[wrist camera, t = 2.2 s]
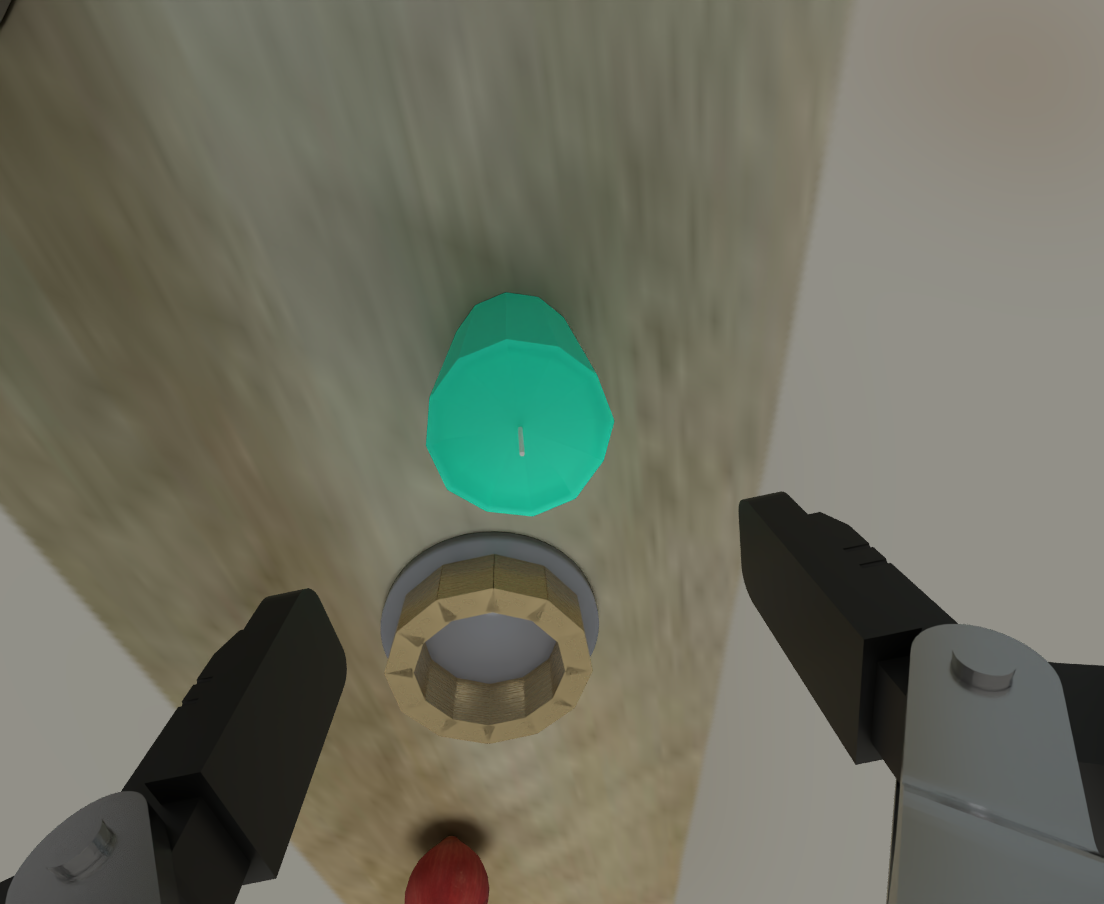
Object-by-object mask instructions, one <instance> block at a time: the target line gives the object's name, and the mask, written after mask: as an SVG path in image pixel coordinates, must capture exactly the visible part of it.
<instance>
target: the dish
mask: <svg viewBox="0 0 1104 904" xmlns="http://www.w3.org/2000/svg"><path fill="white" fill-rule="evenodd" d="M491 554H494V555H495V554H497V555H501V556H506V557H510V558H514V559H518V560H522V561H527V562H531V563H535V564H539V565H544V566H545V567H546V568H547V569H549V570H550V571H551V572H552V573H553V574H554V575H555V576H556V577H557V578H559V579H560V580H561V581H562V582H563V583H564V584H565V585H566V586H567V587H569V588H570V589H571V590H572V591H573V592H574V593H575V594H576V595H577V597H578V601H579V606H580V611H581V615H582V620H583V624H584V629H585V634H586V639H587V644H588V649H589V654H590V656H591V654H592V652H593V650H594V647H595V645H596V641H597V636H598V629H599V618H598V610H597V606H596V602H595V598H594V595H593V591H592V588H591V586H590V584H589V582H588V580H587V578H586V577H585V575H584V574H583V572H582V571H581V569H580V568H579V567H578V566H577V565H576V564H575V563H574V562H573V561H572V560H571V559H570V558H568V557H567V556H566V555H565V554H563V553H562V552H561V551H559V550H557V549H556V548H554V547H552V546H551V545H549V544H546V543H544V542H542V541H540V540H537V539H534V538H531V537H527V536H524V535H519V534H513V533H504V532H479V533H473V534H466V535H462V536H458V537H455V538H451V539H448V540H446V541H443V542H441V543H438V544H436V545H434V546H433V547H431V548H429V549H427V550H425V551H424V552H422V553H421V554H420V555H418V556H417V557H416V558H414V559H413V560H412V561H411V562H410V563H409V564H408V565H407V566H406V567H405V568H404V569H403V570H402V571H401V573H400V574H399V575H398V577H397V578H396V580H395V581H394V583H393V585H392V587H391V588H390V591H389V594H388V597H387V599H386V603H385V606H384V609H383V613H382V619H381V638H382V644H383V647H384V650H385V653H386V656H387V658H388V657H389V654H390V650H391V646H392V642H393V638H394V635H395V631H396V627H397V624H398V621H399V617H400V614H401V610H402V607H403V603H404V600H405V597H406V594H407V593H409V592H410V591H411V590H412V589H414V588H415V587H416V586H417V585H418V584H420V583H421V582H422V581H423V580H425V579H426V578H427V577H428V576H429V575H431V574H432V573H433V572H434V571H436V570H437V569H438V568H439V567H441V566H442V565H444V564H448V563H453V562H458V561H463V560H467V559H472V558H477V557H482V556H487V555H491ZM425 643H426V646H427V649H428V651H429V654H430V656H431V659H432V660H433V661H434V662H436V663H437V664H438V665H440V666H441V667H443V668H444V669H445V670H447V671H448V672H450V673H451V674H452V675H454V676H455V677H457V678H460V679H466V680H471V681H477V682H482V683H488V684H492V683H497V682H502V681H507V680H512V679H516V678H521V677H524V676H525V675H527V674H528V673H530V672H531V671H532V670H534V669H535V668H537V667H538V666H539V665H541V664H542V663H544V662H545V661H546V660H548V659H549V657H550V655H551V653H552V650H553V648H554V646H555V643H556V641H555V640H554V639H553V638H552V637H551V636H549V635H548V634H547V633H546V632H545V631H543V630H542V629H541V628H540V627H539V626H537V625H536V624H535V623H534V622H533V621H530V620H526V619H521V618H516V617H512V616H507V615H502V614H497V613H493V612H492V613H488V614H483V615H478V616H473V617H468V618H464V619H459V620H454V621H451V622H450V623H449V624H448V625H446V626H445V627H444V628H442V629H441V630H440V631H439V632H437V633H436V634H435V635H433V636H432V637H431V638H430V639H428V640H427V641H426V642H425Z"/></svg>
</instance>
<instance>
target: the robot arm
mask: <svg viewBox="0 0 1104 904" xmlns="http://www.w3.org/2000/svg"><path fill="white" fill-rule="evenodd" d="M10 2H11V0H0V22H1V20H2V18H3V16H4V14H5V12H6V10H7V8H8V6H9V4H10ZM739 528H740V546H741V563H742V573H743V578H744V582H745V585H746V589H747V591H748V593H749V596H750V598H751V600H752V602H753V604H754V605H755V607H756V608H757V610H758V612H759V613H760V615H761V616H762V618H763V619H764V621H765V623H766V624H767V626H768V627H769V629H770V630H771V632H772V633H773V635H774V637H775V638H776V640H777V641H778V643H779V645H780V646H781V648H782V649H783V651H784V653H785V654H786V655H787V657H788V659H789V660H790V662H791V664H792V665H793V667H794V668H795V670H796V671H797V673H798V675H799V676H800V678H801V679H802V681H803V682H804V684H805V685H806V687H807V689H808V690H809V692H810V694H811V695H812V697H813V698H814V700H815V701H816V703H817V705H818V706H819V707H820V709H821V711H822V712H823V714H824V715H825V717H826V719H827V720H828V722H829V723H830V725H831V727H832V728H833V730H834V731H835V733H836V734H837V736H838V737H839V739H840V741H841V742H842V744H843V746H844V747H845V749H846V750H847V752H848V753H849V755H850V756H851V758H852V760H853V761H854V763H855V764H856V765H857V764H862V763H867V762H872V761H877V760H882V759H883V760H884V761H885V763H886V764H887V766H888V767H889V769H890V770H891V771H892V773H893V774H894V776H895V777H896V784H895V795H894V808H893V820H892V833H891V846H890V859H889V872H888V886H887V899H886V904H1104V666H1098V665H1082V664H1064V663H1053V662H1047V661H1046V660H1045V659H1044V658H1043V657H1042V656H1041V655H1039V654H1038V653H1037V652H1036V651H1034V650H1033V649H1031V648H1030V647H1028V646H1027V645H1025V644H1023V643H1022V642H1020V641H1018V640H1016V639H1014V638H1012V637H1010V636H1007V635H1005V634H1003V633H999V632H997V631H994V630H991V629H987V628H983V627H979V626H973V625H965V624H958V623H957V622H956V621H955V620H953V619H952V618H951V617H950V616H949V615H948V614H947V613H946V612H945V611H943V610H942V609H941V608H940V607H939V606H938V605H937V604H936V603H935V602H934V601H932V600H931V599H930V598H929V597H928V596H927V595H926V594H925V593H924V592H922V591H921V590H920V589H919V588H918V587H917V586H916V585H915V584H913V583H912V582H911V581H910V580H909V579H908V578H907V577H906V576H905V575H903V574H902V573H901V572H900V571H899V570H898V569H897V568H896V567H895V566H894V565H892V564H891V563H887V561H886V558H885V557H884V556H883V555H881V554H880V553H879V552H878V551H877V550H876V549H875V548H873V547H870V546H869V543H868V542H867V541H866V540H865V539H864V538H863V537H861V536H860V535H859V534H858V533H857V532H856V531H855V530H853V528H852V527H850V526H849V525H847V524H845V523H843V522H841V521H839V520H837V519H834V518H832V517H830V516H828V515H826V514H823V513H821V512H818V513H813V514H807V513H806V512H805V511H804V510H803V509H802V508H801V507H800V506H799V505H798V504H797V503H796V502H795V501H794V500H793V499H792V498H791V497H790V496H789V495H788V494H787V493H785V492H777V493H772V494H767V495H762V496H757V497H752V498H748V499H743V500H741V501H740V503H739ZM346 673H347V666H346V657H345V653H344V650H343V648H342V645H341V643H340V641H339V639H338V637H337V635H336V633H335V631H334V628H333V626H332V624H331V622H330V620H329V618H328V616H327V614H326V611H325V609H324V607H323V605H322V603H321V601H320V599H319V597H318V595H317V594H316V592H314V591H313V590H312V589H309V588H307V589H302V590H297V591H292V592H287V593H283V594H278V595H273V596H268V597H266V598H265V599H263V601H262V602H261V603H260V605H259V606H258V608H257V609H256V611H255V612H254V614H253V616H252V617H251V619H250V620H249V622H248V623H247V625H246V626H245V628H244V629H243V630H240V631H239V632H237V633H236V634H235V635H234V636H233V637H232V638H231V639H230V640H229V641H228V642H227V643H226V644H224V645H223V646H222V647H221V648H220V649H219V650H218V651H217V652H216V653H215V654H214V655H213V656H212V658H211V659H210V661H209V662H208V664H207V665H206V667H205V668H204V670H203V671H202V673H201V674H200V676H199V677H198V679H197V684H196V685H193V686H192V687H191V689H190V690H189V692H188V693H187V695H186V696H185V698H184V699H183V701H182V703H183V704H182V706H181V707H178V708H177V710H176V711H175V712H174V714H173V715H172V717H171V718H170V720H169V721H168V723H167V724H166V726H165V727H164V729H163V730H162V732H161V733H160V735H159V736H158V738H157V739H156V741H155V742H154V744H153V745H152V746H151V748H150V749H149V751H148V752H147V754H146V755H145V757H144V759H143V760H142V761H141V763H140V764H139V766H138V767H137V769H136V770H135V772H134V773H133V775H132V776H131V778H130V779H129V780H128V782H127V783H126V785H125V786H124V788H123V789H122V791H121V792H118V793H114V794H111V795H108V796H105V797H103V798H101V799H98V800H96V801H95V802H92V803H90V804H89V805H87V806H85V807H84V808H82V809H80V810H79V811H77V812H76V813H74V814H73V815H71V816H70V817H69V818H67V819H66V820H65V821H64V822H62V823H61V824H60V825H58V826H57V827H56V828H55V829H54V830H53V831H52V832H51V833H49V834H48V835H47V836H46V837H45V838H44V839H43V840H42V841H41V842H40V843H39V844H38V845H37V846H36V848H35V849H34V850H33V851H32V852H31V853H30V855H29V856H28V857H27V858H26V860H25V861H24V862H23V864H22V865H21V867H20V868H19V870H18V871H17V873H16V874H15V876H13V877H11V878H9V879H6V880H4V881H2V882H0V904H235V901H236V899H237V896H238V894H239V891H240V889H241V886H242V885H246V884H251V883H256V882H261V881H266V880H271V879H276V878H277V875H278V872H279V869H280V866H281V863H282V860H283V858H284V855H285V852H286V849H287V846H288V844H289V841H290V838H291V835H292V832H293V829H294V827H295V824H296V821H297V818H298V815H299V812H300V810H301V807H302V804H303V801H304V798H305V795H306V793H307V790H308V787H309V784H310V781H311V778H312V776H313V773H314V770H315V767H316V764H317V761H318V759H319V756H320V753H321V750H322V747H323V744H324V742H325V739H326V736H327V733H328V730H329V727H330V725H331V722H332V719H333V716H334V713H335V710H336V708H337V705H338V702H339V699H340V696H341V693H342V691H343V688H344V685H345V681H346Z"/></svg>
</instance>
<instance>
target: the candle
mask: <svg viewBox="0 0 1104 904" xmlns="http://www.w3.org/2000/svg"><path fill="white" fill-rule="evenodd" d="M613 424H614V418H613V416H612V413H611V410H610V408H609V405H608V403H607V400H606V397H605V395H604V392H603V389H602V387H601V384H600V381H599V379H598V376H597V374H596V372H595V371H594V369H593V367H592V365H591V364H590V362H589V360H588V358H587V357H586V355H585V353H584V352H583V350H582V348H581V346H580V345H579V343H578V341H577V340H576V338H575V336H574V334H573V333H572V331H571V329H570V327H569V326H568V324H567V322H566V321H565V319H564V317H563V316H561V315H560V314H559V313H558V312H556V311H555V310H554V309H553V308H551V307H550V306H549V305H548V304H546V303H545V302H544V301H543V300H541V299H540V298H539V297H536V296H529V295H522V294H514V293H507V292H505V293H503V294H500V295H498V296H496V297H493V298H491V299H488V300H486V301H484V302H481V303H479V304H477V305H475V306H474V308H473V309H472V310H471V312H470V313H469V315H468V316H467V317H466V319H465V320H464V322H463V323H462V324H461V326H460V327H459V329H458V330H457V332H456V334H455V336H454V339H453V341H452V344H451V346H450V349H449V351H448V353H447V356H446V358H445V361H444V363H443V366H442V368H441V371H440V373H439V375H438V378H437V380H436V383H435V385H434V388H433V390H432V392H431V395H430V397H429V411H428V425H427V439H426V447H427V449H428V451H429V453H430V455H431V457H432V459H433V461H434V463H435V466H436V468H437V470H438V472H439V474H440V476H441V478H442V480H443V482H444V484H445V486H446V488H447V490H449V491H450V492H452V493H454V494H456V495H458V496H460V497H461V498H463V499H465V500H467V501H469V502H470V503H472V504H474V505H476V506H478V507H479V508H481V509H483V510H485V511H487V512H496V513H505V514H515V515H524V516H535V515H538V514H540V513H542V512H545V511H547V510H550V509H552V508H554V507H557V506H559V505H562V504H564V503H566V502H569V501H571V500H574V499H576V497H577V496H578V495H579V493H580V492H581V491H582V489H583V488H584V486H585V485H586V484H587V482H588V481H589V480H590V478H591V477H592V476H593V474H594V473H595V472H596V470H597V469H598V468H599V466H600V465H601V463H602V462H603V461H604V457H605V454H606V450H607V446H608V443H609V439H610V435H611V432H612V428H613Z"/></svg>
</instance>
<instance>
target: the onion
mask: <svg viewBox="0 0 1104 904" xmlns="http://www.w3.org/2000/svg"><path fill="white" fill-rule="evenodd" d="M488 897H489V883H488V876H487V873H486V870H485V868H484V865H483V863H482V862H481V860H480V858H479V856H478V855H477V854H476V853H475V852H474V851H473V850H472V849H471V848H469V847H468V846H467V845H466V844H464V843H463V842H461V841H460V840H459V839H458V838H457V837H455V836H448V837H446V838H445V839H443V840H442V841H441V842H440V843H439V844H437V845H436V846H434V847H433V848H432V849H431V850H429V851H428V852H427V853H426V854H425V855H424V856H423V857H422V858H421V859H420V860H419V861H418V863H417V865H416V866H415V868H414V870H413V871H412V873H411V876H410V878H409V881H408V885H407V888H406V891H405V904H487V903H488Z"/></svg>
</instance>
